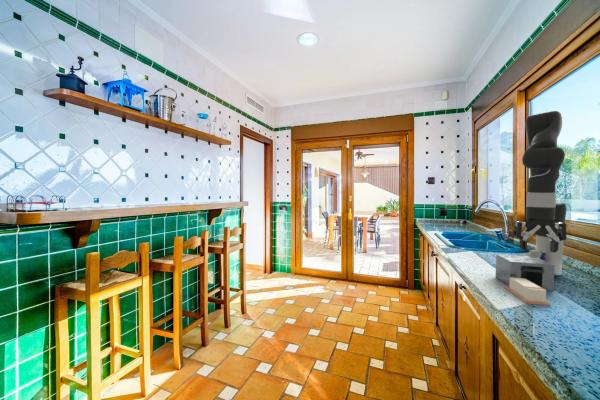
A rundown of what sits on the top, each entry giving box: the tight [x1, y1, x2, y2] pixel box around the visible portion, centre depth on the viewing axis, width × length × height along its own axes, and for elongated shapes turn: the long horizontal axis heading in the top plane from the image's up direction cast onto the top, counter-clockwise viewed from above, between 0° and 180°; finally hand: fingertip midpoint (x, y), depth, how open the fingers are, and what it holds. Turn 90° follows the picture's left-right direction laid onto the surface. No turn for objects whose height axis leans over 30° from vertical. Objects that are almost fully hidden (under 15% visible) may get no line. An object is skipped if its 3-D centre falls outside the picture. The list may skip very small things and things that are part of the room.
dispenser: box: [495, 253, 555, 292], centre depth 106 cm, size 13×14×10 cm
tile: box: [504, 285, 552, 307], centre depth 94 cm, size 14×7×1 cm, turn 165°
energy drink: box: [529, 249, 546, 261], centre depth 113 cm, size 5×5×12 cm
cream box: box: [509, 277, 547, 302], centre depth 93 cm, size 12×5×4 cm, turn 166°
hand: (538, 251), depth 91 cm, fingers open, 8 cm apart
